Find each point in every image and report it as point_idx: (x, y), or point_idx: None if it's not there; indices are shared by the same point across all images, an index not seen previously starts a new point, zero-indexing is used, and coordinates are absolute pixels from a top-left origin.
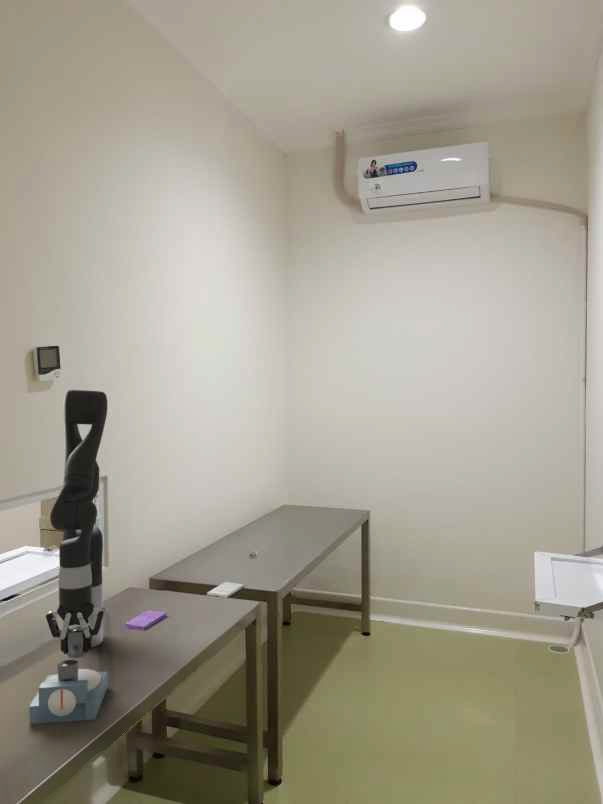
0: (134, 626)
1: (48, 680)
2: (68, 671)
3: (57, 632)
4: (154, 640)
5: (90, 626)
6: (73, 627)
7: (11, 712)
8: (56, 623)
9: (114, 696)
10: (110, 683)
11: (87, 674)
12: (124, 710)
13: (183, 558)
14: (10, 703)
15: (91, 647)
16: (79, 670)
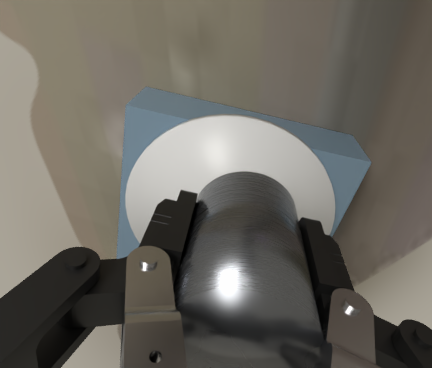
0: None
1: (137, 179)
2: None
3: (89, 322)
4: None
5: (371, 356)
6: (215, 301)
7: (65, 182)
8: (31, 355)
9: (357, 200)
10: (371, 106)
11: (286, 184)
12: (360, 273)
13: None
14: (41, 128)
15: (330, 240)
16: (257, 136)
